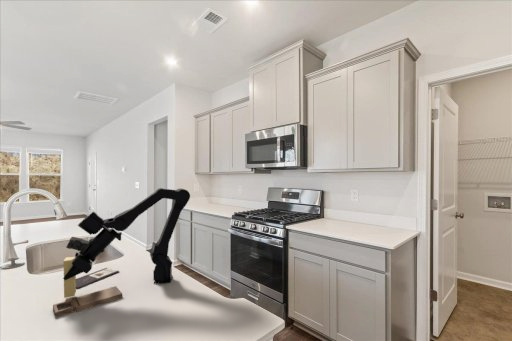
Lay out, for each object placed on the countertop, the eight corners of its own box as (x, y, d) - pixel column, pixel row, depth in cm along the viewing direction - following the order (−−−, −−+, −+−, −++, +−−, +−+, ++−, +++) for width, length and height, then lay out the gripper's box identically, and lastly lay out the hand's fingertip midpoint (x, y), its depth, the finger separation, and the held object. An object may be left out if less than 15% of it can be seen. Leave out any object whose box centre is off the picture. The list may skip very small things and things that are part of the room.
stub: (75, 291, 98) (75, 256, 98) (74, 295, 94) (73, 259, 94) (66, 293, 96) (65, 257, 96) (64, 297, 93) (63, 261, 93)
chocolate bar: (64, 283, 106) (106, 267, 123) (64, 285, 106) (106, 269, 123) (77, 287, 103) (119, 271, 119) (77, 290, 103) (119, 273, 119)
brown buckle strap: (116, 289, 102) (115, 285, 102) (122, 297, 96) (122, 292, 96) (52, 308, 88) (52, 303, 88) (55, 318, 83) (55, 313, 83)
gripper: (85, 224, 105) (51, 256, 100) (79, 234, 89) (37, 273, 84) (108, 241, 109) (76, 272, 104) (106, 254, 92) (68, 292, 87)
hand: (65, 277), depth 95 cm, fingers closed on stub, 4 cm apart
